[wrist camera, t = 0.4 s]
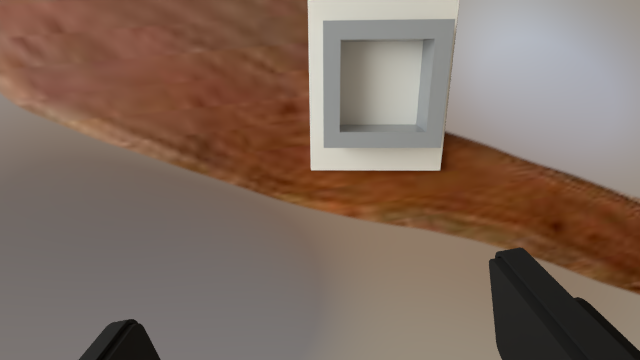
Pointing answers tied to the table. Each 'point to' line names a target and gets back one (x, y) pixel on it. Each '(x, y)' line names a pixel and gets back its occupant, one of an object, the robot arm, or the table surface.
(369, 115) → the square socket base
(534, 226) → the table surface
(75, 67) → the table surface
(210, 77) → the table surface
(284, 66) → the table surface
